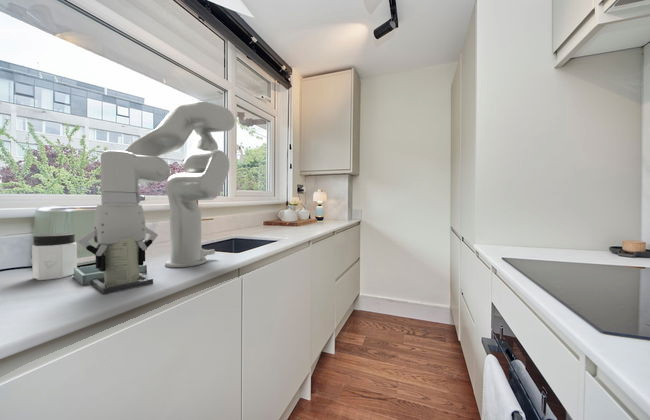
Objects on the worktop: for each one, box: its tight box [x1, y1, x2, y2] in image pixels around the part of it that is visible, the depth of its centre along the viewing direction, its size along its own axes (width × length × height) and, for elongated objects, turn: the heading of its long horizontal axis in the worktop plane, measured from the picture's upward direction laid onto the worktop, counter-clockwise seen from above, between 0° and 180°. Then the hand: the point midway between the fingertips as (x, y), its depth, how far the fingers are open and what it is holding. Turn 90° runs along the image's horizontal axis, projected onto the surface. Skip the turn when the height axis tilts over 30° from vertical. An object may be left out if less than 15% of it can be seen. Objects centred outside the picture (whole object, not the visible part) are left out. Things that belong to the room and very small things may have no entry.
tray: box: [73, 263, 148, 286], centre depth 73 cm, size 14×12×2 cm
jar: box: [31, 232, 78, 281], centre depth 72 cm, size 9×8×12 cm
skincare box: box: [103, 238, 141, 287], centre depth 65 cm, size 6×4×12 cm
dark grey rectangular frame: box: [90, 272, 154, 295], centre depth 65 cm, size 10×12×1 cm
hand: (121, 267), depth 65 cm, fingers closed on skincare box, 7 cm apart
